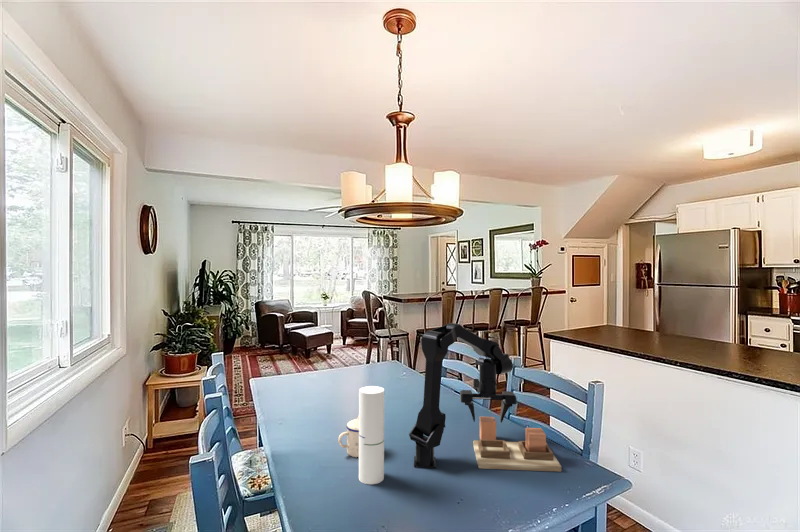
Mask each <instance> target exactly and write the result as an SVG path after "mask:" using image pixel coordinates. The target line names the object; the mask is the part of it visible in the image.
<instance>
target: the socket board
mask: <svg viewBox="0 0 800 532" xmlns="http://www.w3.org/2000/svg"><path fill="white" fill-rule="evenodd" d="M472 446H473V450H474V455H475V458H476V463H477V466H478V469H483V470H484V469H487V470H489V469H490V470H508V471H509V470H510V471H511V470H512V471H518V470H519V471H531V472H533V471H534V472H535V471H537V472H538V471H539V472H557V473H558V472H560V473H561V472H562V465H561V463H560V462H559V460H558V459H557V457H556V456H555V453H554V452H553V451H552V449H551V448H550V446H549V444H548V443H547V435H546V432H545V431H544V430H543V429H542V427H525V440H518V441H506V440H505V439H496V440H483V439H480V438H478V439H477V440H473V442H472Z"/></svg>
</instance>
